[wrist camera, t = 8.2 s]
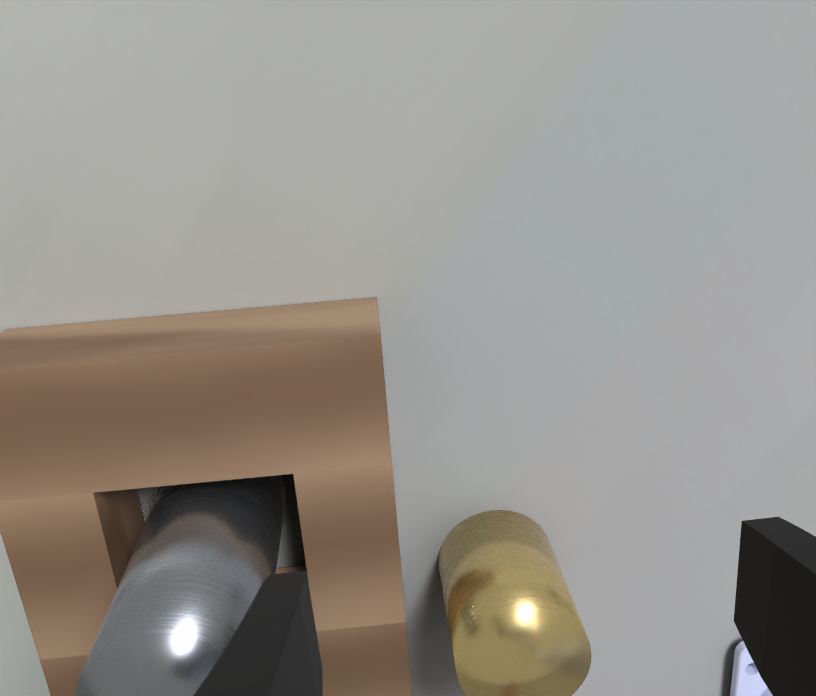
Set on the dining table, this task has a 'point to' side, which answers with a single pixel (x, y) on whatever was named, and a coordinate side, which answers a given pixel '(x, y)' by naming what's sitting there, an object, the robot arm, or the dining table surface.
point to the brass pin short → (510, 610)
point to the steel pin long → (186, 587)
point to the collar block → (203, 465)
